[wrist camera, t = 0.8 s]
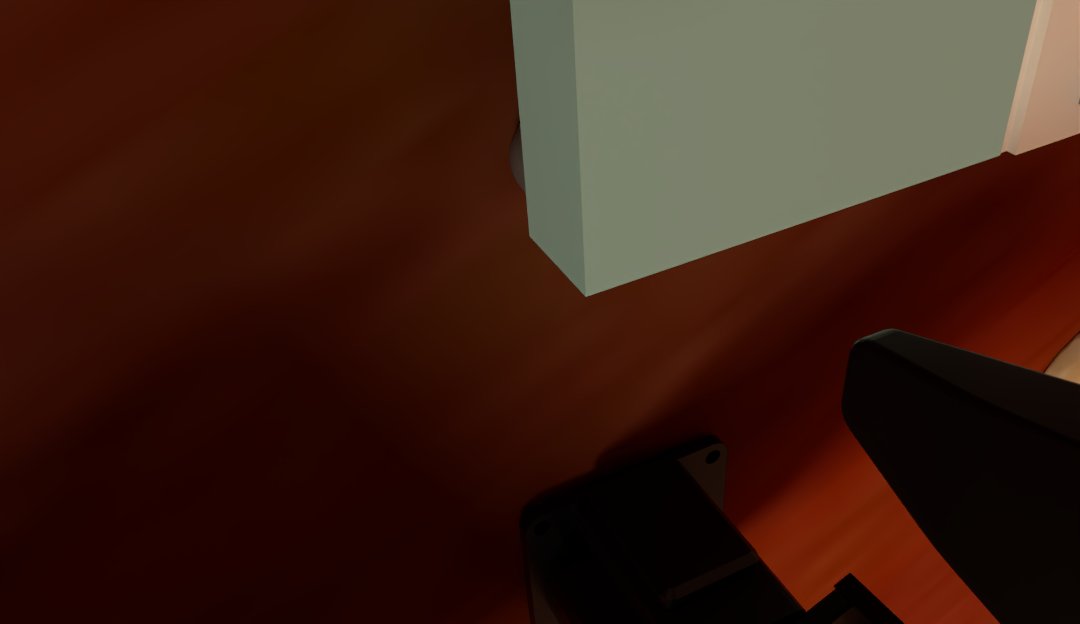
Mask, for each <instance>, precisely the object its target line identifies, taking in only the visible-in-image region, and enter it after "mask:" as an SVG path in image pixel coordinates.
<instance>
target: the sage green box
mask: <svg viewBox="0 0 1080 624" xmlns="http://www.w3.org/2000/svg"><path fill="white" fill-rule="evenodd" d="M1036 2H1037V0H510V7H511V19H512V31H513V43H514V55H515V67H516V79H517V92H518V104H519V116H520V125H519V127H518V128H517V130H516V131H515V133H514V136H513V138H512V141H511V145H510V152H509V160H510V166H511V170H512V173H513V175H514V177H515V180H516V181H517V183H518V184H519V186H520V187H521V188H522V189H523V190H524V191H525V192H526V200H527V212H528V224H529V236H530V237H531V238H532V239H533V240H534V241H535V243H536V244H537V245H538V246H539V247H540V248H541V249H542V250H543V251H544V252H545V253H546V254H547V255H548V257H549V258H550V259H551V260H552V261H553V262H554V263H555V264H556V265H557V266H558V267H559V268H560V269H561V271H562V272H563V273H564V274H565V275H566V276H567V277H568V278H569V279H570V280H571V281H572V282H573V283H574V285H575V286H576V287H577V288H578V289H579V290H580V291H581V292H582V293H583V294H584V295H585V296H586V297H587V296H590V295H593V294H595V293H598V292H601V291H604V290H607V289H610V288H613V287H616V286H619V285H622V284H625V283H628V282H631V281H634V280H636V279H639V278H642V277H645V276H648V275H651V274H654V273H657V272H660V271H663V270H666V269H669V268H672V267H675V266H678V265H680V264H683V263H686V262H689V261H692V260H695V259H698V258H701V257H704V256H707V255H710V254H713V253H716V252H719V251H721V250H724V249H727V248H730V247H733V246H736V245H739V244H742V243H745V242H748V241H751V240H754V239H757V238H760V237H762V236H765V235H768V234H771V233H774V232H777V231H780V230H783V229H786V228H789V227H792V226H795V225H798V224H801V223H803V222H806V221H809V220H812V219H815V218H818V217H821V216H824V215H827V214H830V213H833V212H836V211H839V210H842V209H845V208H847V207H850V206H853V205H856V204H859V203H862V202H865V201H868V200H871V199H874V198H877V197H880V196H883V195H886V194H888V193H891V192H894V191H897V190H900V189H903V188H906V187H909V186H912V185H915V184H918V183H921V182H924V181H927V180H929V179H932V178H935V177H938V176H941V175H944V174H947V173H950V172H953V171H956V170H959V169H962V168H965V167H968V166H971V165H973V164H976V163H979V162H982V161H985V160H988V159H991V158H994V157H997V156H1000V154H1001V149H1002V145H1003V141H1004V137H1005V133H1006V128H1007V124H1008V120H1009V116H1010V112H1011V107H1012V103H1013V99H1014V95H1015V90H1016V86H1017V82H1018V78H1019V74H1020V69H1021V65H1022V61H1023V57H1024V52H1025V48H1026V44H1027V40H1028V36H1029V31H1030V27H1031V23H1032V19H1033V15H1034V10H1035V6H1036Z"/></svg>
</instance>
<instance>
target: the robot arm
mask: <svg viewBox="0 0 1080 624" xmlns="http://www.w3.org/2000/svg"><path fill="white" fill-rule="evenodd" d="M841 406H842V413H843V416H844V419H845V421H846V424H847V426H848V427H849V429H850V430H851V432H852V433H853V435H854V436H855V438H856V439H857V440H858V442H859V443H860V445H861V446H862V447H863V449H864V450H865V452H866V453H867V454H868V456H869V457H870V459H871V460H872V461H873V463H874V464H875V466H876V467H877V468H878V470H879V471H880V473H881V474H882V475H883V477H884V478H885V480H886V481H887V483H888V484H889V485H890V487H891V488H892V490H893V491H894V492H895V494H896V495H897V497H898V498H899V499H900V501H901V502H902V504H903V505H904V506H905V508H906V509H907V511H908V512H909V513H910V515H911V516H912V518H913V519H914V520H915V522H916V523H917V525H918V526H919V528H920V529H921V530H922V531H923V533H924V534H925V535H926V537H927V538H928V539H929V541H930V542H931V543H932V545H933V546H934V547H935V549H936V550H937V551H938V552H939V553H940V555H941V556H942V557H943V558H944V559H945V561H946V562H947V563H948V564H949V565H950V567H951V568H952V569H953V570H954V571H955V572H956V574H957V575H958V576H959V577H960V578H961V579H962V580H963V582H964V583H965V584H966V585H967V586H968V587H969V588H970V590H971V591H972V592H973V593H974V594H975V595H976V596H977V598H978V599H979V600H980V601H981V602H982V603H983V605H984V606H985V607H986V608H987V609H988V610H989V611H990V613H991V614H992V615H993V616H994V617H995V618H996V619H997V621H998V622H999V623H1000V624H1080V384H1079V383H1075V382H1072V381H1068V380H1065V379H1062V378H1058V377H1055V376H1052V375H1048V374H1045V373H1042V372H1038V371H1035V370H1032V369H1028V368H1025V367H1022V366H1018V365H1015V364H1012V363H1008V362H1005V361H1002V360H998V359H995V358H992V357H988V356H985V355H981V354H978V353H975V352H971V351H968V350H965V349H961V348H958V347H955V346H951V345H948V344H945V343H941V342H938V341H935V340H931V339H928V338H925V337H921V336H918V335H915V334H911V333H908V332H904V331H901V330H897V329H886V330H882V331H879V332H877V333H874V334H872V335H869V336H866V337H864V338H861V339H859V340H857V341H856V342H855V343H854V344H853V346H852V347H851V349H850V352H849V357H848V364H847V370H846V376H845V382H844V388H843V395H842V402H841ZM726 463H727V447H726V446H725V445H724V443H723V442H722V441H721V440H720V439H719V438H718V437H717V436H716V435H708V436H705V437H702V438H700V439H697V440H695V441H693V442H690V443H688V444H685V445H683V446H680V447H678V448H675V449H673V450H671V451H668V452H666V453H663V454H661V455H658V456H656V457H653V458H651V459H648V460H646V461H644V462H641V463H639V464H636V465H634V466H631V467H629V468H626V469H624V470H622V471H619V472H617V473H614V474H612V475H609V476H607V477H604V478H602V479H600V480H597V481H595V482H592V483H590V484H587V485H585V486H582V487H580V488H578V489H575V490H573V491H570V492H568V493H565V494H563V495H560V496H558V497H555V498H553V499H551V500H548V501H546V502H543V503H541V504H538V505H536V506H534V507H532V508H530V509H529V510H527V511H526V512H525V513H524V514H523V516H522V518H521V520H520V534H521V543H522V551H523V560H524V569H525V578H526V587H527V595H528V604H529V613H530V622H531V624H904V623H903V622H902V621H901V620H900V619H899V618H898V617H897V616H896V615H894V614H893V613H892V612H891V611H890V610H889V609H888V608H887V607H886V606H885V605H884V604H883V603H882V602H881V601H880V600H879V599H878V598H876V597H875V596H874V595H873V594H872V593H871V592H870V591H869V590H868V589H867V588H866V587H865V586H864V585H863V584H862V583H861V582H860V581H858V580H857V579H856V578H855V577H854V576H853V575H852V574H851V573H849V574H848V575H846V576H845V577H844V578H843V579H841V580H840V581H839V582H838V583H836V584H835V585H834V588H835V590H834V591H832V592H831V593H830V594H829V595H827V596H826V597H825V598H823V599H822V600H821V601H820V602H818V603H817V604H816V605H815V606H813V607H812V608H811V609H810V610H808V611H807V612H806V611H805V609H804V608H803V607H802V606H801V605H800V604H799V602H798V601H797V600H796V599H795V598H794V597H793V595H792V594H791V593H790V592H789V591H788V590H787V588H786V587H785V586H784V585H783V584H782V583H781V581H780V580H779V579H778V578H777V577H776V576H775V574H774V573H773V572H772V571H771V570H770V569H769V567H768V566H767V565H766V564H765V563H764V562H763V560H762V559H761V558H760V557H759V556H758V554H757V552H756V550H755V549H754V548H753V547H752V545H751V544H750V543H749V542H748V541H747V540H746V538H745V537H744V536H743V535H742V534H741V533H740V531H739V530H738V529H737V528H736V527H735V526H734V524H733V523H732V522H731V521H730V520H729V519H728V518H727V516H726V515H725V514H724V513H723V508H724V493H725V478H726Z"/></svg>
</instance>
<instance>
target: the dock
mask: <svg viewBox="0 0 1080 624" xmlns="http://www.w3.org/2000/svg"><path fill="white" fill-rule="evenodd" d="M1079 133H1080V0H1037V2H1036V6H1035V10H1034V15H1033V19H1032V23H1031V27H1030V31H1029V36H1028V40H1027V44H1026V48H1025V52H1024V57H1023V61H1022V65H1021V69H1020V74H1019V78H1018V82H1017V86H1016V90H1015V95H1014V99H1013V103H1012V107H1011V112H1010V116H1009V120H1008V124H1007V128H1006V133H1005V137H1004V141H1003V145H1002V149H1001V153H1002V152H1005V151H1008V152H1010V153H1012V154H1014V155H1018V154H1021V153H1023V152H1026V151H1029V150H1032V149H1035V148H1038V147H1041V146H1044V145H1047V144H1050V143H1053V142H1056V141H1058V140H1061V139H1064V138H1067V137H1070V136H1073V135H1076V134H1079Z"/></svg>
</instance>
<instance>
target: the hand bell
mask: <svg viewBox="0 0 1080 624" xmlns="http://www.w3.org/2000/svg"><path fill="white" fill-rule="evenodd" d="M1044 373H1045V374H1048V375H1052V376H1055V377H1058V378H1062V379H1065V380H1068V381H1072V382H1075V383H1079V384H1080V333H1079V334H1077V335H1076V336H1075V337H1074V338H1073V339H1072V340H1071V341H1070V342H1069V343H1068V344H1067V345H1066V346H1065V347H1064V348H1063V349H1062V350H1061V351H1060V352H1059V354H1058V355H1057V356H1056V357H1055V359H1054V360H1053V361H1052V362H1051V364H1050V365H1049V366H1048V367H1047V369H1046V371H1045V372H1044Z"/></svg>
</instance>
